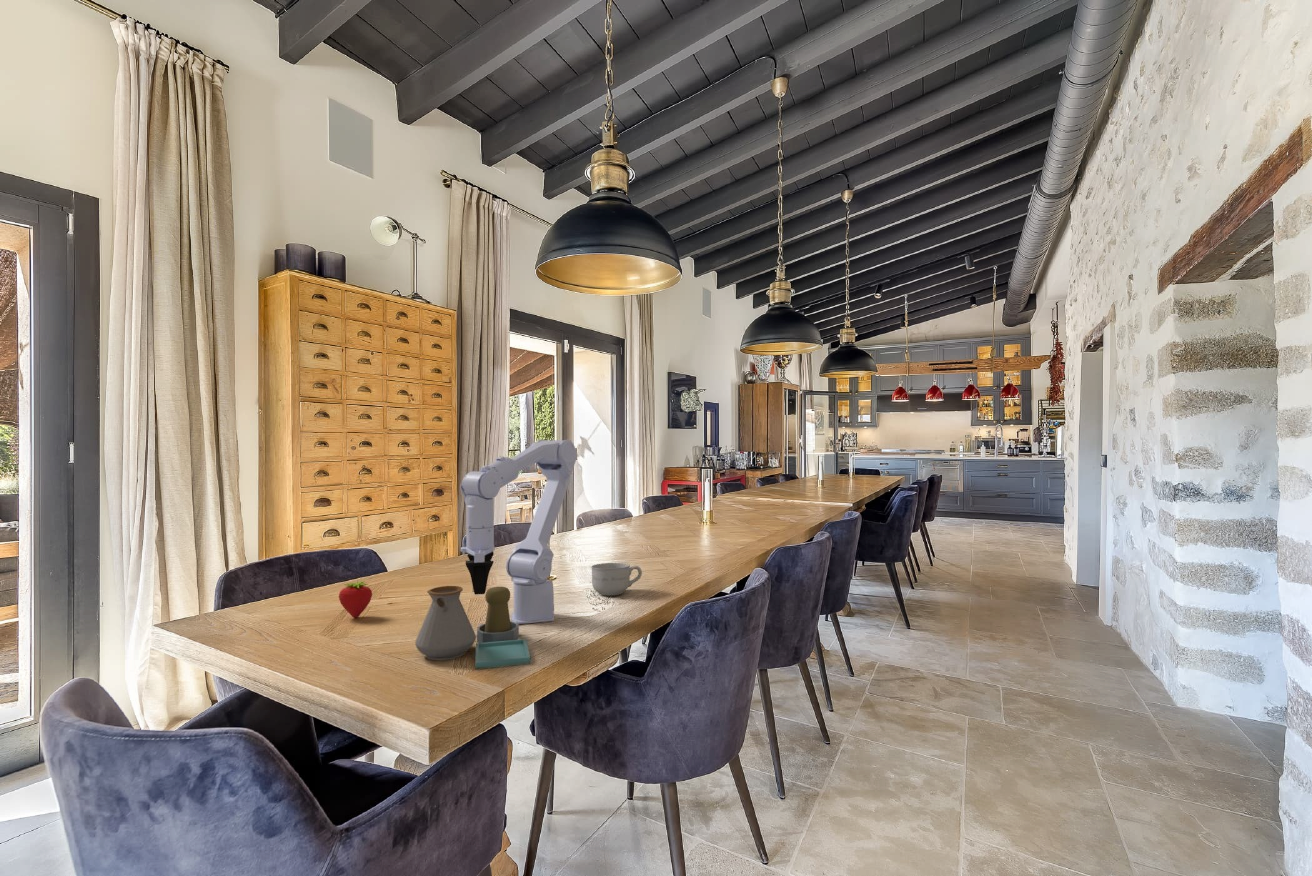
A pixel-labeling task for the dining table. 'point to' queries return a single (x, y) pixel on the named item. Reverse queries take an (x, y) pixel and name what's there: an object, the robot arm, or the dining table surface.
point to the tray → (501, 653)
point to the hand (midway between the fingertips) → (480, 589)
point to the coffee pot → (445, 626)
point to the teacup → (613, 577)
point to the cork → (497, 610)
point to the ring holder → (497, 634)
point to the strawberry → (355, 598)
